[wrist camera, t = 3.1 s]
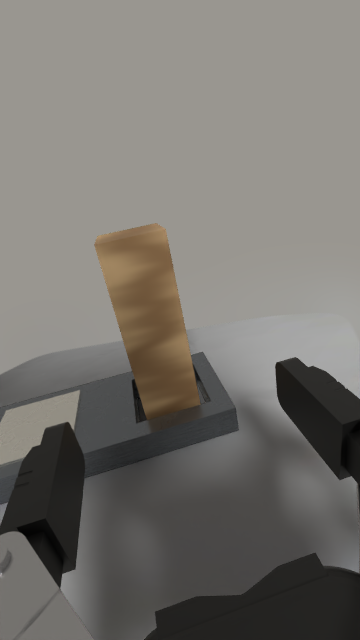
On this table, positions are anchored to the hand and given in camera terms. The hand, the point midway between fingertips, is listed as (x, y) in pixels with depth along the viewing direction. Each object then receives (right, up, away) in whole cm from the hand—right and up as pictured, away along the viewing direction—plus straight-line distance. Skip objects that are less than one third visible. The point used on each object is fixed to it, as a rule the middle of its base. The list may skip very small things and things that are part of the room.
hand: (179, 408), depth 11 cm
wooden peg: (-1, -4, +13) cm, 13 cm away
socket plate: (-5, -5, +12) cm, 14 cm away
